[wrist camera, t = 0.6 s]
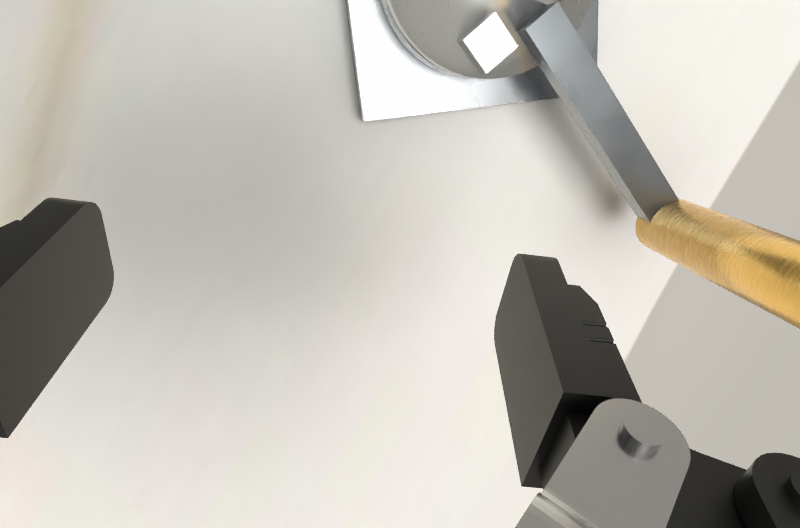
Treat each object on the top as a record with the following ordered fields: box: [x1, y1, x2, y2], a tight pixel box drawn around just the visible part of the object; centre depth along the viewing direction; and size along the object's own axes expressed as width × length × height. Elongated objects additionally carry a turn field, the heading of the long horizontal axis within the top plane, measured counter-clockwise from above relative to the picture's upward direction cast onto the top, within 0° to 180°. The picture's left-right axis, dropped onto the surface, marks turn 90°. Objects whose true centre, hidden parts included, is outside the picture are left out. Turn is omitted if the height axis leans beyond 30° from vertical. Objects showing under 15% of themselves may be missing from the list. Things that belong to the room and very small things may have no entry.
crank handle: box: [381, 0, 800, 329], centre depth 18 cm, size 22×10×23 cm, turn 39°
